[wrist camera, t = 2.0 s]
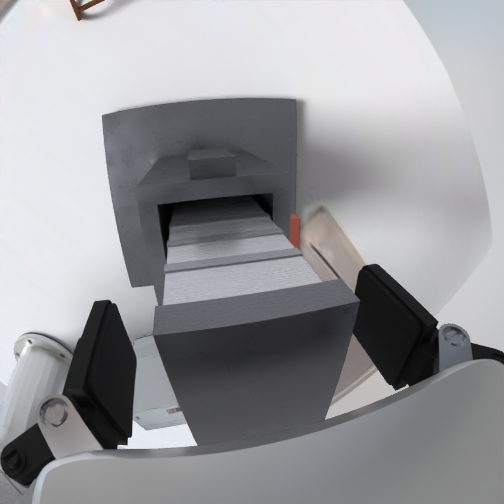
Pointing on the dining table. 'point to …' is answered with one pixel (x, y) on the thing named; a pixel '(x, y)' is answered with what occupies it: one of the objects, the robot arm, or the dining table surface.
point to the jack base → (196, 169)
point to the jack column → (247, 324)
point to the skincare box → (153, 389)
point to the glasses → (83, 7)
